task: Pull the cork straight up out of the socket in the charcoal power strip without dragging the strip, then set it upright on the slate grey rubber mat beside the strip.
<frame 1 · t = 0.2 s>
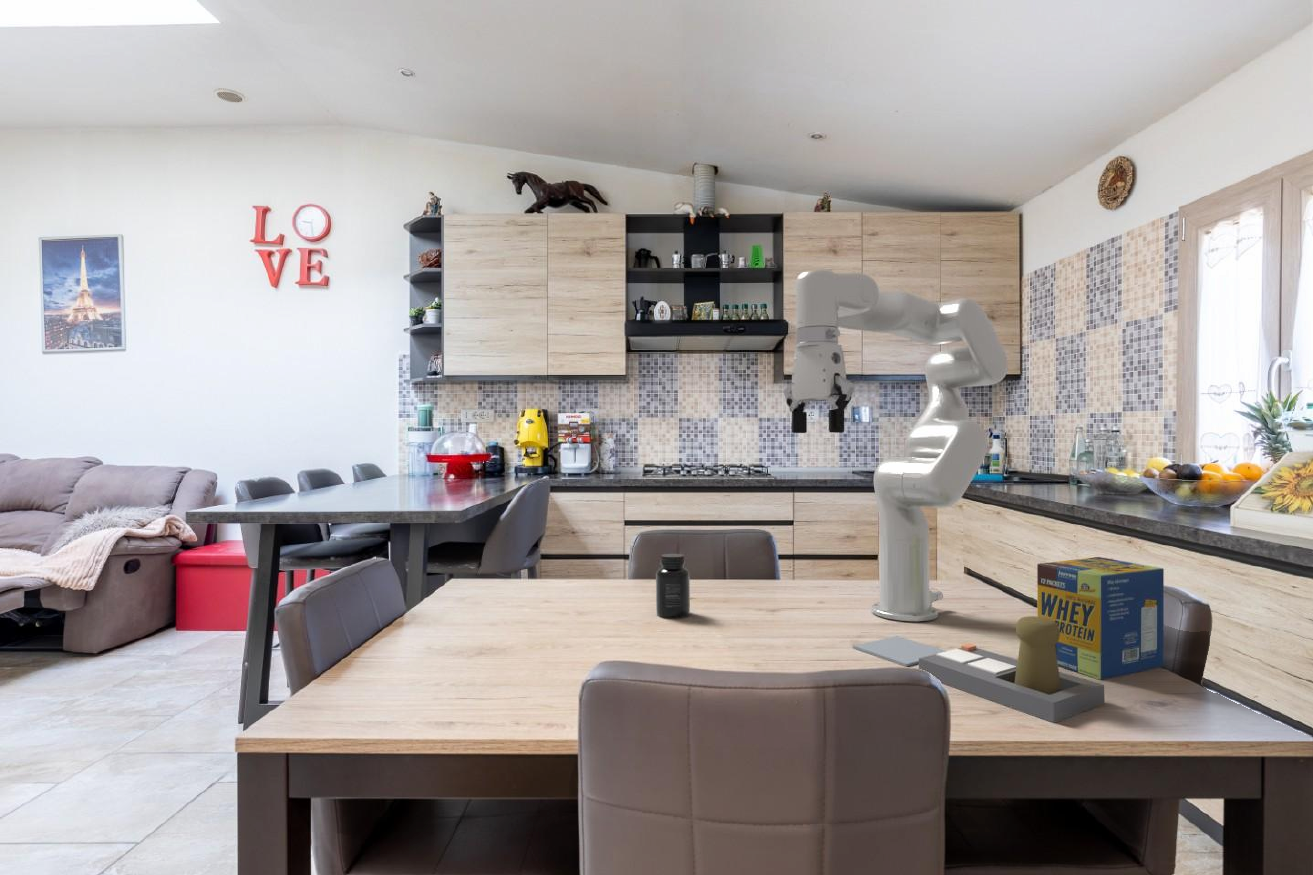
hand: (817, 432, 125), 37 cm above the table, tool pointing down, fingers open, 9 cm apart
power strip: (1006, 688, 96), on the table
cork: (1037, 700, 92), resting in power strip
supplement bottle: (673, 615, 138), on the table
protein box: (1100, 664, 107), on the table
slate mat: (901, 651, 113), on the table
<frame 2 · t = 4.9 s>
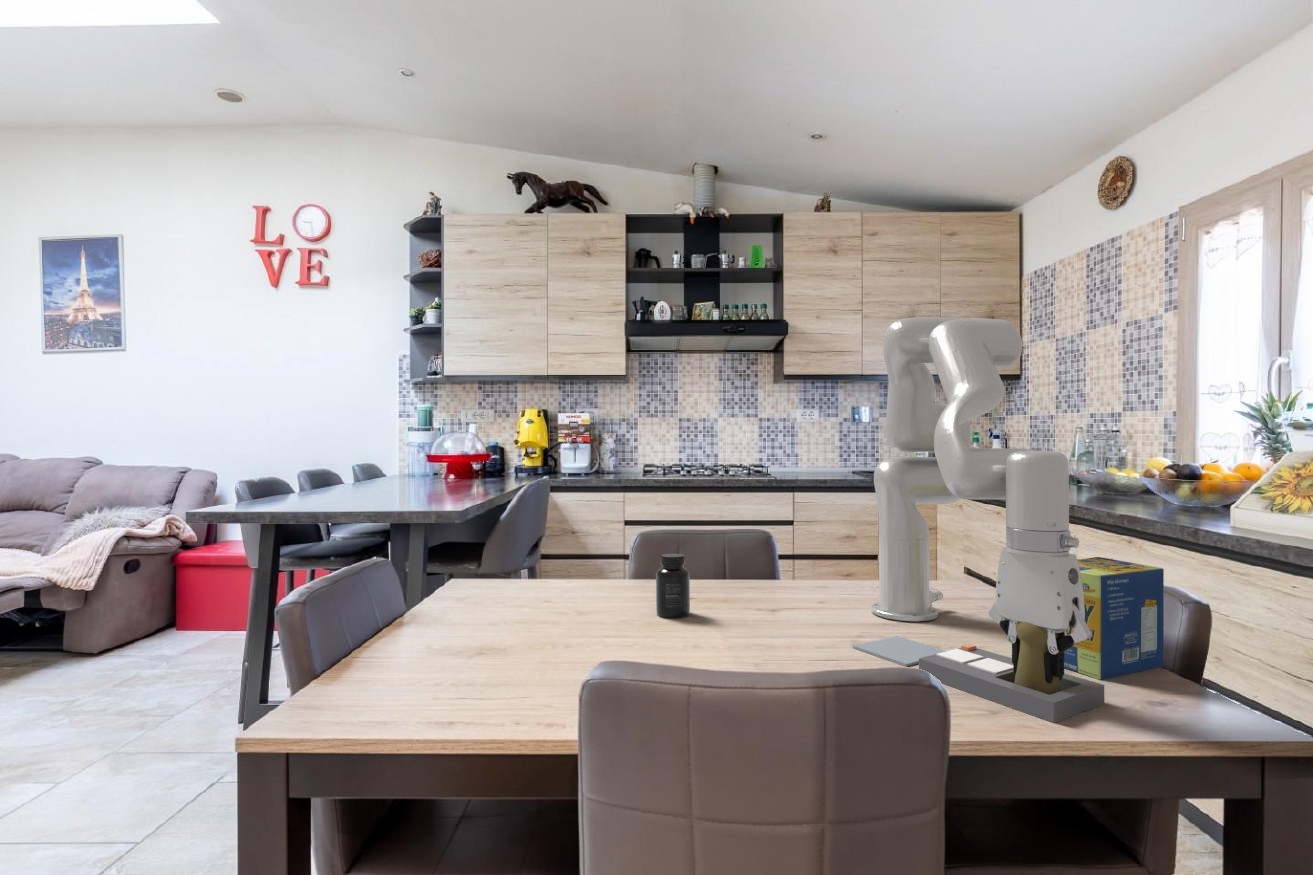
hand: (1037, 674, 93), 3 cm above the table, tool pointing down, fingers closed on cork, 3 cm apart
cork: (1037, 700, 92), resting in power strip, touching gripper
everything else where it was.
when the fingers open (5 cm above the table, at t = 11.8 s): cork drops 1 cm, resting on slate mat.
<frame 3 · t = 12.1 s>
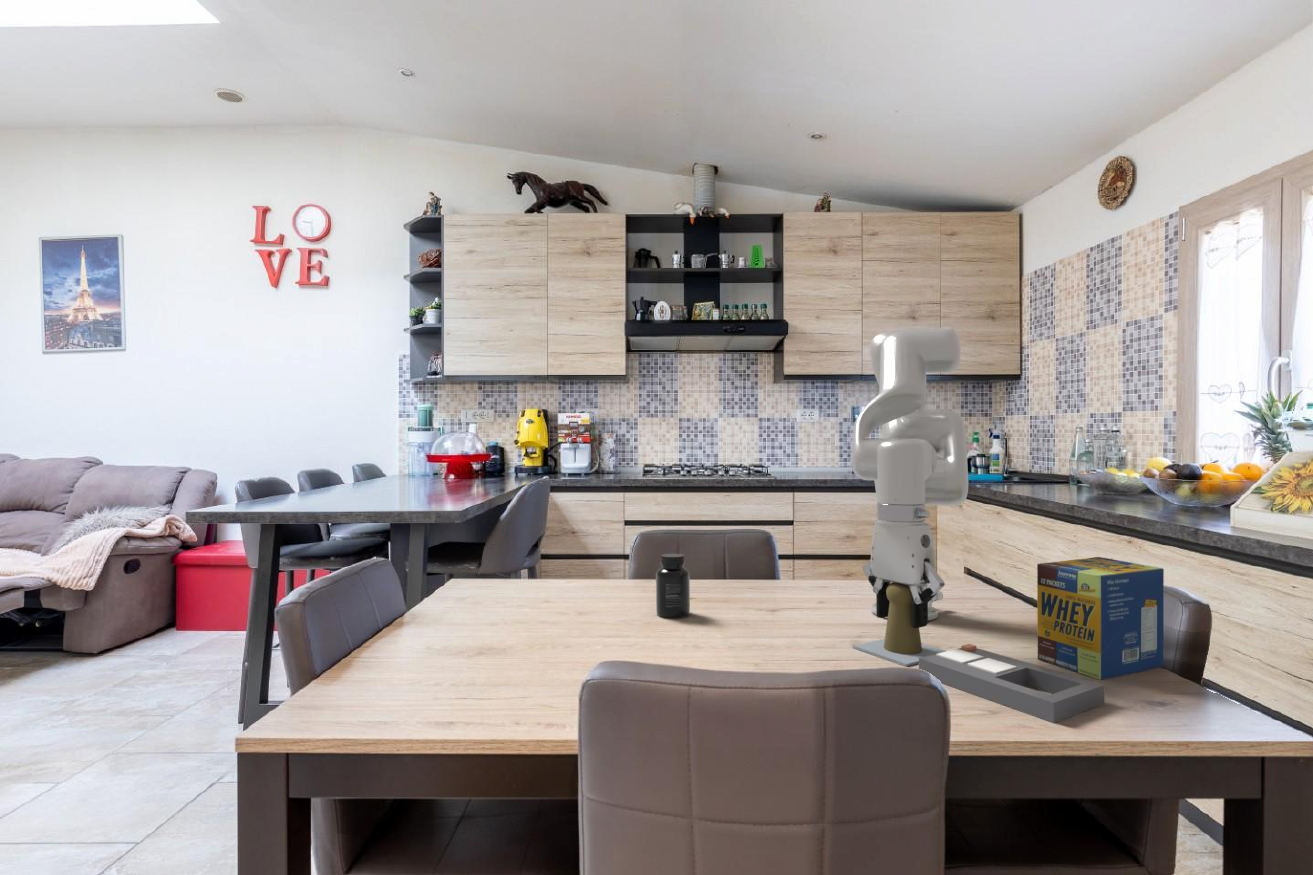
hand: (901, 620, 113), 5 cm above the table, tool pointing down, fingers open, 6 cm apart
cork: (902, 649, 113), resting on slate mat
everything else where it was.
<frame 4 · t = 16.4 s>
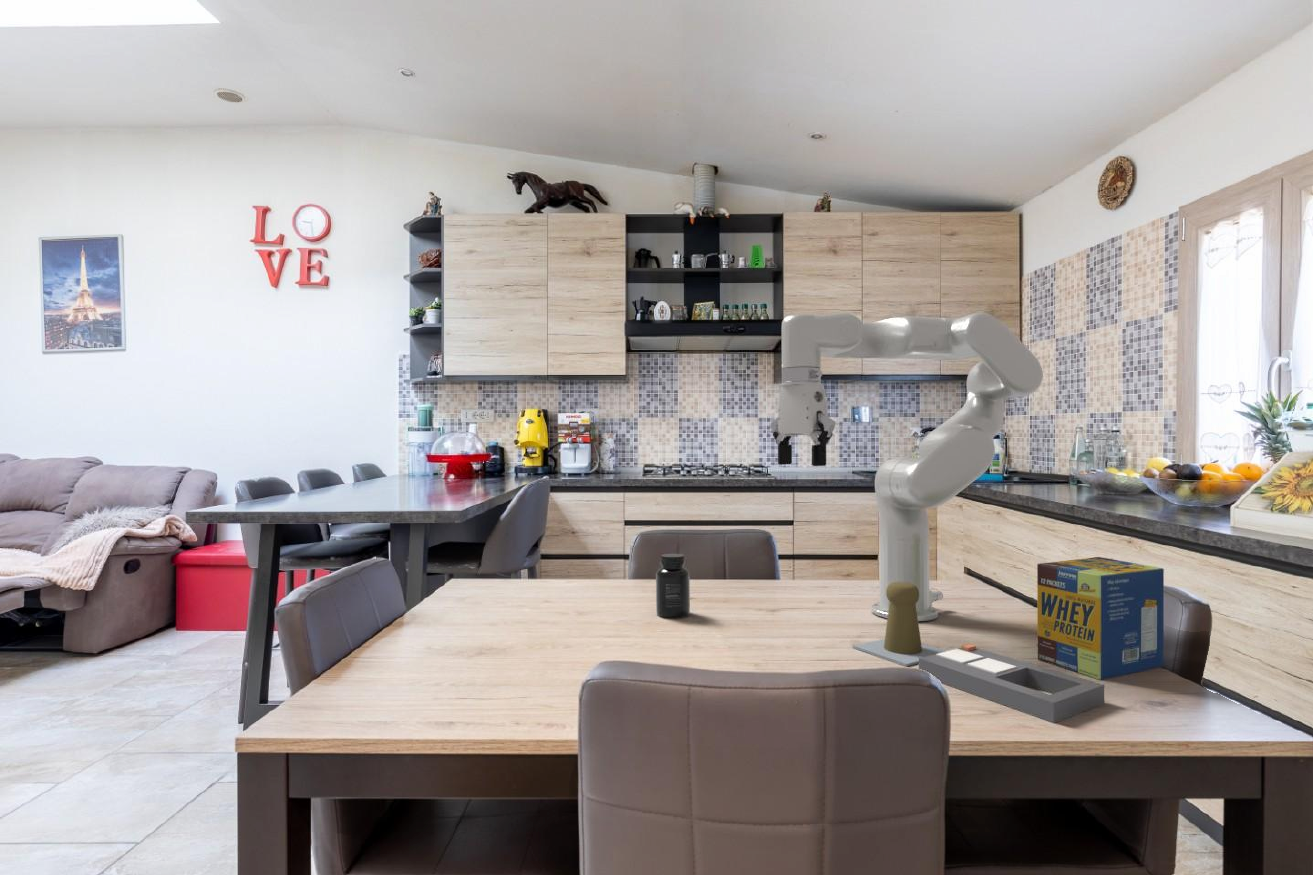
hand: (801, 465, 134), 30 cm above the table, tool pointing down, fingers open, 9 cm apart
nothing on the table moved.
at the end: cork inside the target area on the slate mat (0.2 cm from its centre), point 0.2 cm above the slate mat's base; cork tilted 0°; power strip moved 0.0 cm from its start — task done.
